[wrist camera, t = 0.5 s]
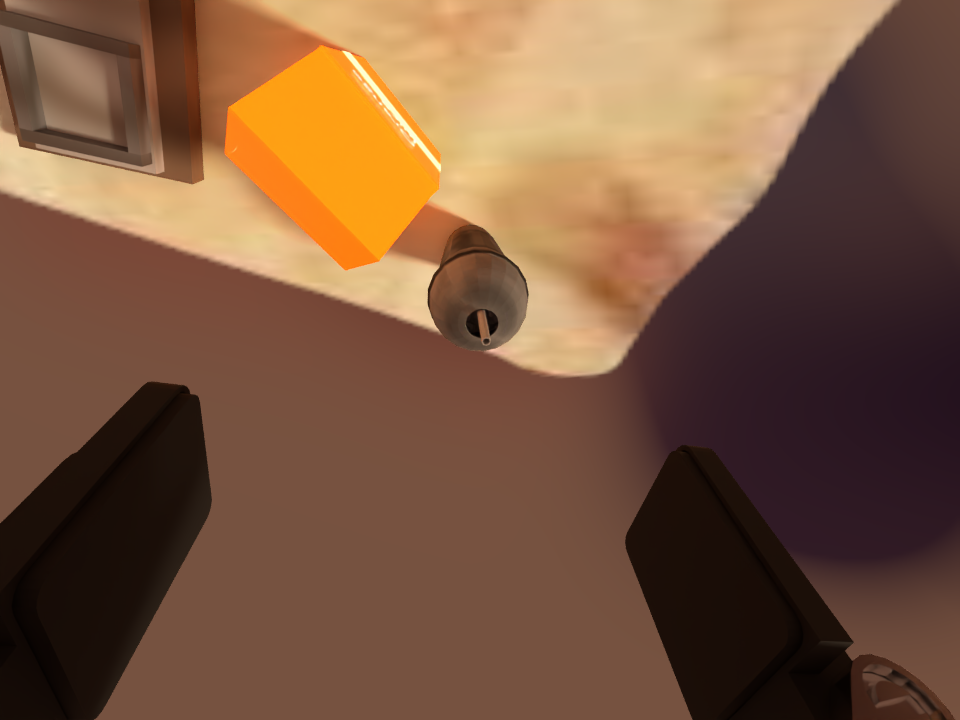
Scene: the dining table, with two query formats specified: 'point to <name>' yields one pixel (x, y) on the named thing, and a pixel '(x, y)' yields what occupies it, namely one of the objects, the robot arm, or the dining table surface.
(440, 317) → the beverage cup
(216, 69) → the dining table surface
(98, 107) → the rail board
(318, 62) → the orange juice
